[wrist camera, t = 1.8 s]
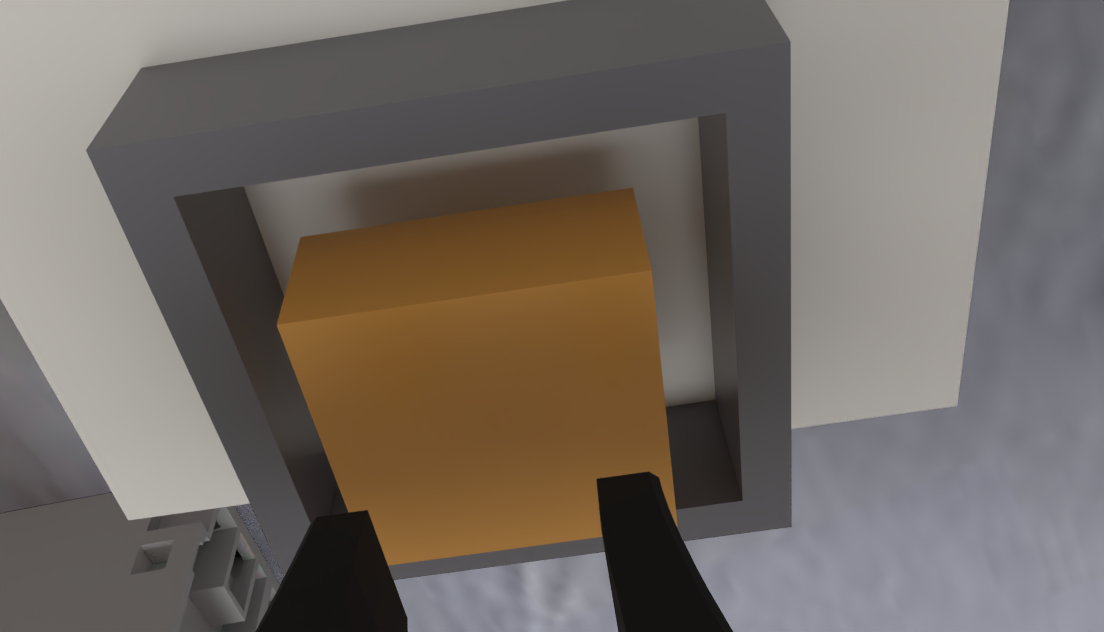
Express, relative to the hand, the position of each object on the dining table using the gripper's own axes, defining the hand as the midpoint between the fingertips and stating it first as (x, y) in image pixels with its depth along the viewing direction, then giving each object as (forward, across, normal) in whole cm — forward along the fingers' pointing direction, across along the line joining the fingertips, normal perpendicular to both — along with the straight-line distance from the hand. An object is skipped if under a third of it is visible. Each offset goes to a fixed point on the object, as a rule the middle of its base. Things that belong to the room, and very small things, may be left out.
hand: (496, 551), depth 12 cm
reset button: (+4, 0, 0) cm, 4 cm away
